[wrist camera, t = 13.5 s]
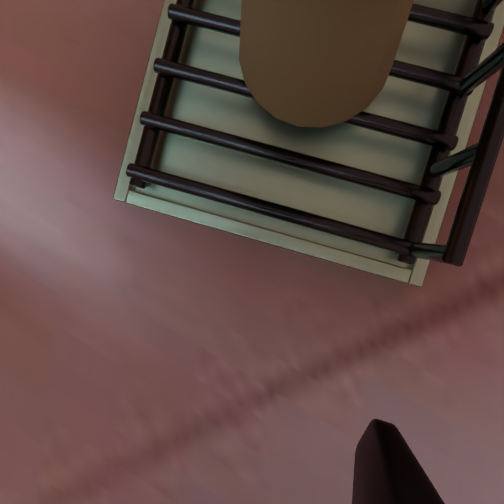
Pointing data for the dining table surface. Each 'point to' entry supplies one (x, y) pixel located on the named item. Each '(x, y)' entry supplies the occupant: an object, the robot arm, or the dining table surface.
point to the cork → (319, 55)
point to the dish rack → (321, 142)
